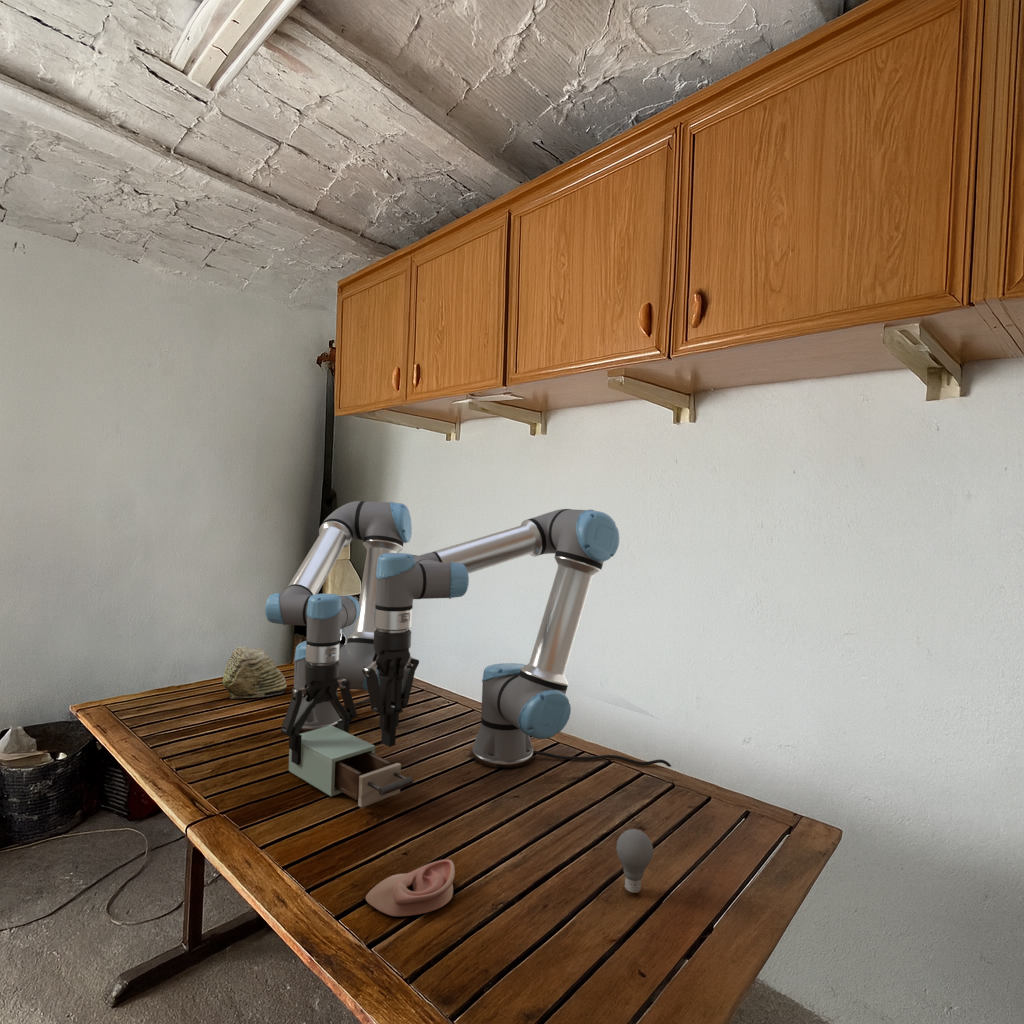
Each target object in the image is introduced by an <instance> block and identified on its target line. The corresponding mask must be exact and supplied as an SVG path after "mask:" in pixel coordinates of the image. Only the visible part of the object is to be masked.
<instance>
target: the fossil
mask: <svg viewBox="0 0 1024 1024" xmlns="http://www.w3.org/2000/svg"><path fill="white" fill-rule="evenodd" d="M222 676H223V677H222V685H223V687H224V688H225V690H226V691H228V693H229V698H230V699H250V698H264V697H271V696H275V695H281V694H284V693H285V691H286V689H287V687H288V686H287V680H286V678H285V676H284V674H283V673H282V672H281V669H279V668H278V667H277V665H276V663H275V662H274V660H273V659H272V658H271V657H270V656H269V655H268V654H267V653H266V652H265V650H264V649H263V648H260V647H258V648H251V647H247V646H246V647H245V646H238V647H237V648H236V649H235V650H233V651H232V653H231V656H230V657H229V659H228V660H227V663H226V666H225V668H224V671H223V675H222Z"/></svg>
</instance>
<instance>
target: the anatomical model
mask: <svg viewBox="0 0 1024 1024" xmlns="http://www.w3.org/2000/svg"><path fill="white" fill-rule="evenodd" d="M455 875H456V870H455V863H454V862H453V861H452V860H451V859H448V858H446V859H439V860H436V861H432V862H430V863H426V864H425V865H422V866H420V867H418V868H416V869H414V870H412V871H410V872H408V873H396V874H392V875H390V876H388V877H386V878H384V879H382V880H381V881H380V882H378V883H377V884H376V885H375V886H374V887H372V888H371V889H370V890H369V891H368V893H367V894H366V895H365V901H366V902H367V903H368V905H370V906H371V907H373V908H374V909H375V910H376V911H379V912H380V913H382V914H385V915H387V916H390V917H399V918H400V917H410V916H417V915H422V914H427V913H430V912H434V911H436V910H438V909H441V908H442V907H444V906H445V905H447V904H448V903H449V902H451V900H452V898H453V895H454V885H453V883H454V880H455Z"/></svg>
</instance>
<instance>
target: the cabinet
mask: <svg viewBox="0 0 1024 1024" xmlns="http://www.w3.org/2000/svg"><path fill="white" fill-rule="evenodd" d="M299 734H300V735H302V739H301V764H300V765H296V764H295V763H293V762H291V758H292V750H291V749H288V772H290V773H291V774H293V775H295V776H296V777H298V778H300V779H301V780H303V781H305V782H306V783H308V784H309V785H311V786H313V787H314V788H316V789H318V790H319V791H321V792H323V793H324V794H325V795H327V796H329V797H335V796H336V795H339V794H342V793H343V792H341V791H340V790H338V789H336V788H335V762H337V761H340V760H343V759H346V758H349V757H352V756H356V755H359V754H362V753H365V752H370V753H372V754H374V755H376V745H374V744H372V743H370V742H368V741H366V740H364V739H362V738H359V737H358V736H355V735H353V734H351V733H350V732H349V733H347V732H345V731H342V730H340V729H338V728H337V727H334V726H332V725H331V726H327V727H324V728H320V729H316V730H312V731H309V732H301V733H299Z"/></svg>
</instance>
